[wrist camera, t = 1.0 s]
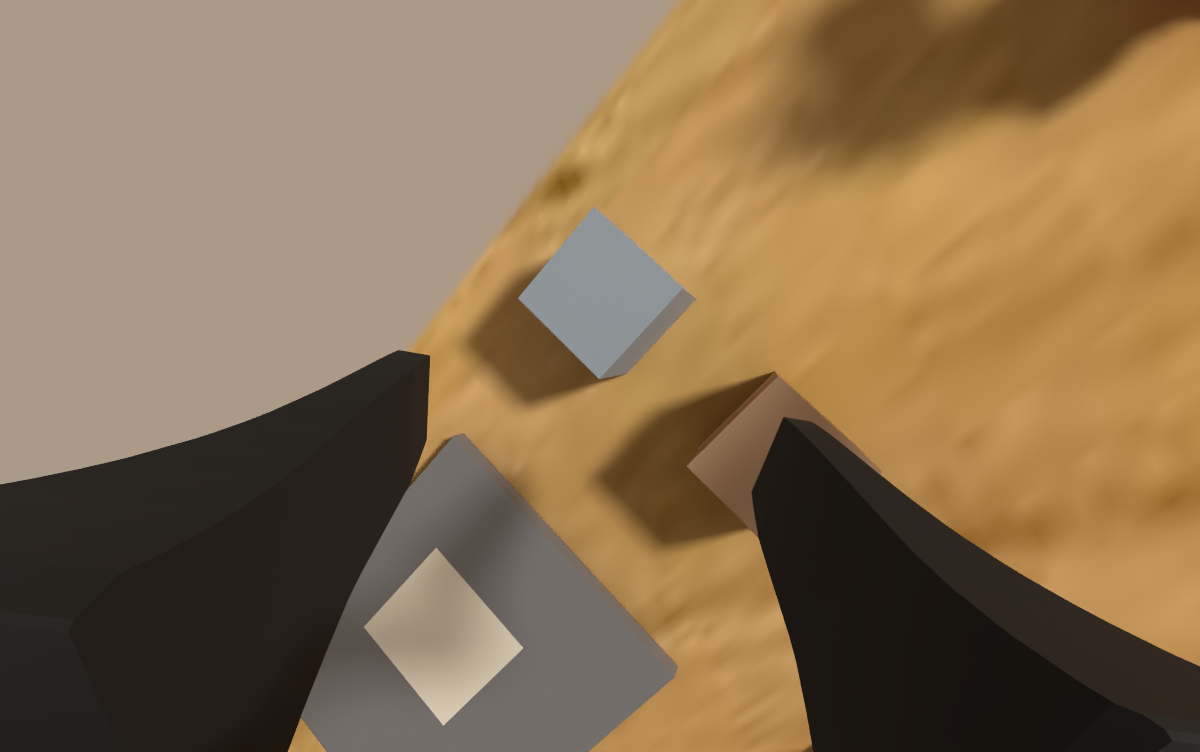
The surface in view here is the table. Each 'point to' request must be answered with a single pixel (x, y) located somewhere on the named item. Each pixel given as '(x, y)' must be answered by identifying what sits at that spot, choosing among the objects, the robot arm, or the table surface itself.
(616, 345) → the slate block
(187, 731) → the robot arm
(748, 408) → the walnut block
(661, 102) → the table surface
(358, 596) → the baseplate
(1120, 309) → the table surface
